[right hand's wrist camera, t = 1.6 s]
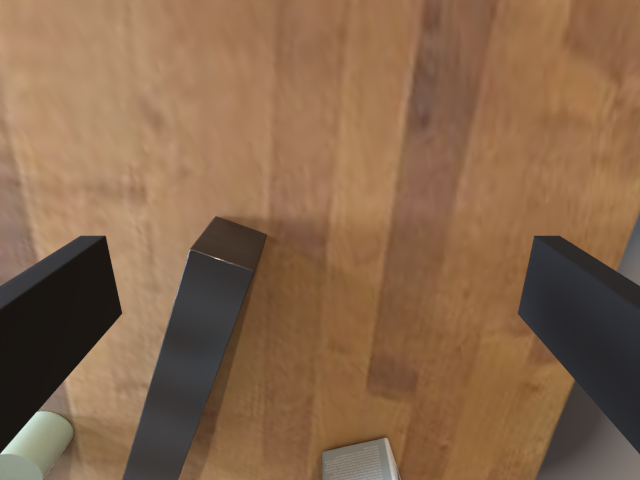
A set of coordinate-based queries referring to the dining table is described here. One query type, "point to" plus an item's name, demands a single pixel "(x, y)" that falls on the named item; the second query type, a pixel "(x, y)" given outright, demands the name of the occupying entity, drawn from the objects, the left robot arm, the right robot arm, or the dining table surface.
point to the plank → (193, 347)
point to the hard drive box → (360, 462)
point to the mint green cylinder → (36, 447)
